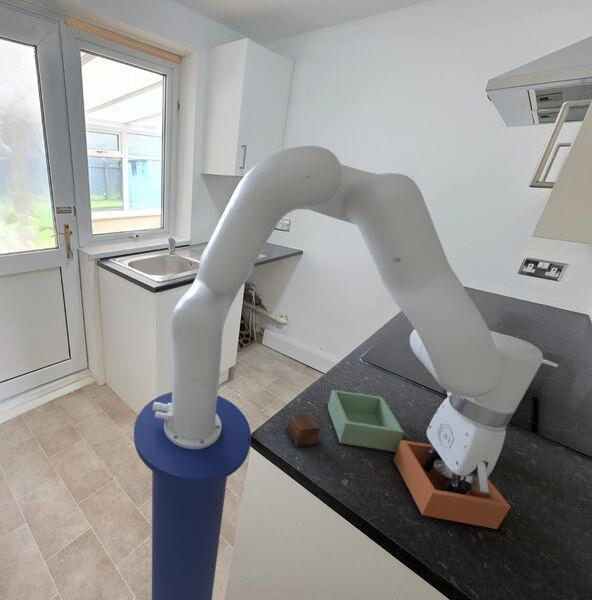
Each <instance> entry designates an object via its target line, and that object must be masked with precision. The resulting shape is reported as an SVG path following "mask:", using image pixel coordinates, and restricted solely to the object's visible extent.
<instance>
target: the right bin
mask: <svg viewBox="0 0 592 600" xmlns="http://www.w3.org/2000/svg"><path fill="white" fill-rule="evenodd" d="M430 446H431V443H430V444H429V443H423V442H418V441H417V442H416V441H411V440H406V439H405V440H404V439H401V442H400V444H399V447H398V450H397V452H395V455H394V457H393V462H394V464H395V466H396V467H397V469H398V472H399V473H400V476H401V477H402V479H403V481H404V483H405V485H406V487H407V489H408V490H409V493H410V494H411V496H412V498H413V500H414V502H415V505H416V507H417V508H418V510H419V512H420V514H421V515H422V516H425V517H430V518H436V519H441V520H446V521H452V522H456V523H461V524H462V523H463V524H468V525H473V526H478V527H484V528H489V529H494V530H498V528H499V527H500V525H501V524H502V522H503V521H504V519H505V517H506V515H507V514H508V513H509V510H510V509H511V505H510V504H509V503H508V501H507V499H506V498H504V497H503V495H502V494H501V492H500V491H499V490H498V489H497V488H496V487H495V485H494V483H492V482H491V480H490V479H489V477H487V481H488V490H489V494H488V495H484V494H479V493H476V492H473V491H470V490H468V491H467V493H466V495H463V494H457V493H452V492H446V491H440V490H435V489H434V487H433V485H432V484H431V482H430V480H429V479H428V475H429V473H430V472H426V471H425V470H424V469H423V467H424V464H425V462H426V460H427V458H428V455H429V453H430V452H429V447H430ZM430 454H431V453H430ZM463 481H466V476H464V480H463Z"/></svg>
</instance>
